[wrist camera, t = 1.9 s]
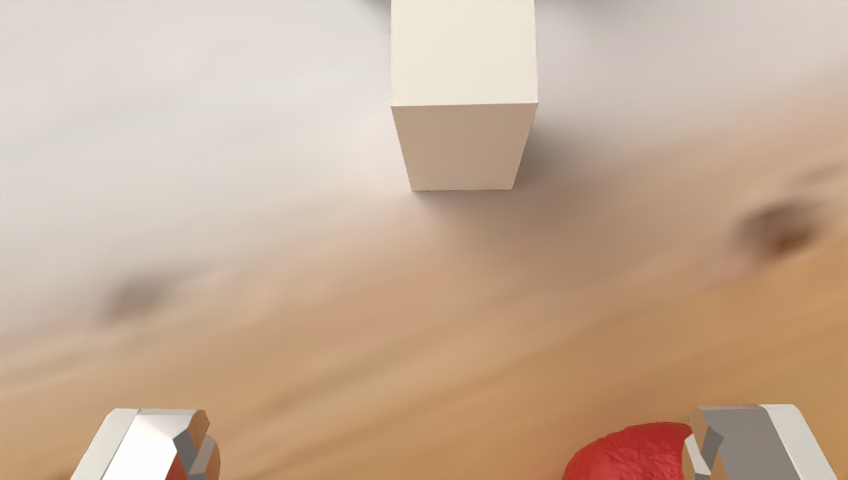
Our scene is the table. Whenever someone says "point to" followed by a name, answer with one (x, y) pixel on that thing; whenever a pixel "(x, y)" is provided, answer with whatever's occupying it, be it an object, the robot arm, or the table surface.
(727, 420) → the robot arm
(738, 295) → the table surface
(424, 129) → the ivory rectangular block
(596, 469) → the pomegranate
